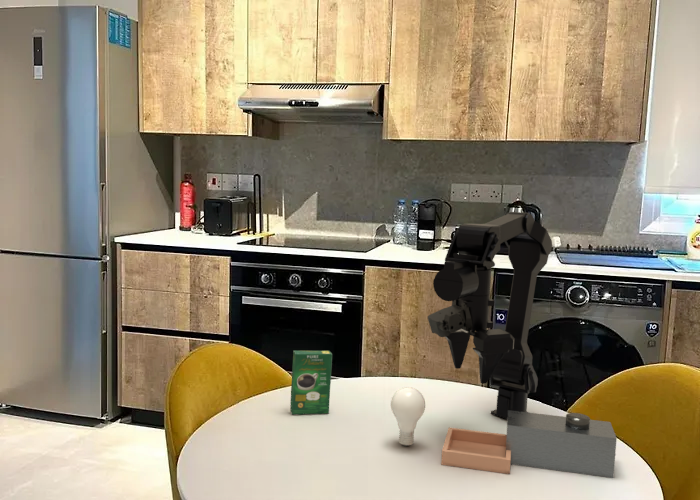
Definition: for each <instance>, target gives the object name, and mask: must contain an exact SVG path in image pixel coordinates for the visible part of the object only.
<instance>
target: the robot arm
mask: <svg viewBox="0 0 700 500" xmlns="http://www.w3.org/2000/svg"><path fill="white" fill-rule="evenodd" d="M503 243H505V245H506V247H507V248H508V255H507V256H508V259H509V261H510V262H509V263H510V264H511V267H512V269H513V277H512V283H511V289H510V296H509V300H508V301H509V302H508V309H507V315H506V320H505V321H506V322H505V328H504V330H503V329H500V328H494V321H491V320H490V307H492V306H493V307H494V306H495V300H494V299H492V298H491V283H492V268H494V267H495V265H496V263H495V261H494V259H495V256H496V254H498V252H500V251H501V244H503ZM552 249H553V241H552V238H551V237H550V234H549V232H548V229H547V228H545V227H544V226H542V224H540V223H539V222H538V221H536V220H535V219H534V216H533V215H532V214H531V213H529V212H521V211H510V212H506V213H505V214H504V215H502V216H500V217H497V218H495V219H492V220H490V221H488V222H485V223H461V224H460V225H459V226H458V227H457V229H456V230H455V232H454V235H453V237H452V239H451V242H450V245H449V247H448V250H447V252H446V255H445V258H444V264H443V267H444V268H441V269H440V270H438V272H437V273H436V274H435V276H434V279H433V282H432V283H433V284H432V285H433V291H434V293H435V294H436V296H437V297H438V298H439V299H441V300H444V301H446V302H451V305H450V306H447V307H443V308H441V309H439V310H437V311H435V312H433V313H430V314H429V315H428V316H427V320H428V324H429V328H430V330H431V333H432V334H436V335H437V336H438V337H440V338H445V339H446V341H447V344H448V346H449V351H450V354H451V358H452V362H453V365H454V369H457V370H459V369H461V368H462V365H463V363H464V359H465V355H466V352H467V349H468V345H469V342H470V340H471V337H472V343H473V344H474V345H473V346H474V347H472V350H473V351H474V353H476V354H477V355H478V369H479V370H478V371H479V373H478V374H479V382H480V384H487V383H488V381H490V386H494V387H495V386H496V387H498V388H497V395H496V396H497V397H496V408H495V409H493V410H490V414H491V415H493V416H496V417H500V418H502V419H504V420H507V419H508V410H511V411H520V412H528V413H530V412H529V411H527V408H528V395H529V394H530V393H531V394H533V393H536V392H537V387H538V381H539V378H538V375H537V373H536V371H535V369H534V366H533V354H532V352H531V350H530V347H529V345H528V336H529V331H530V330H529V329H530V323H531V317H532V312H533V304H534V296H535V290H536V284H537V277H538V274H539V273H540V272H541V271H542V270H543V269H544V267H545V266H546V265H547V264H548V259H549V255H550V254H551V252H552ZM493 328H494V329H493Z"/></svg>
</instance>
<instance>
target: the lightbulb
mask: <svg viewBox="0 0 700 500" xmlns="http://www.w3.org/2000/svg"><path fill="white" fill-rule="evenodd" d="M390 408H391V411H392V414H393V416H394V417H395V419H396V421H397V427H398V429H399V439H398V442H399V444H400V445H402V446H404V447H409V446H411V445H413V444H414V440H415V439H414V438H415V437H414V435H415V430H416V428H417V424H418V422H419V420H420V419H421V418H422V416H423V415H424V413H425V410H426V401H425V397H424V395H423V393H421V391H420V390H418V389H417V388H414V387H410V386H404V387H401V388H399V389H398V390H396V391H395V392H394V394H393V395H392V397H391V400H390Z"/></svg>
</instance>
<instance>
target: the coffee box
mask: <svg viewBox="0 0 700 500" xmlns="http://www.w3.org/2000/svg"><path fill="white" fill-rule="evenodd" d="M292 351H293V352H292V353H293V354H292V355H293V356H292V367H291V369H292V371H291V387H290V388H291V389H290V404H289V405H290V414H291V415H294V416H295V415H323V414H324V415H325V414H329V413H330V399H331V398H330V396H331V382H332V380H331V379H332V368H333V367H332V365H333V363H332V362H333V353H332V352H331V351H330V350H292Z"/></svg>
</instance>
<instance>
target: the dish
mask: <svg viewBox="0 0 700 500" xmlns="http://www.w3.org/2000/svg"><path fill="white" fill-rule="evenodd" d="M506 434H507V433H506ZM506 434H504V433H495V432H490V431H489V432H488V431H487V432H486V431H482V430H481V431H480V430H474V429H473V430H472V429H463V428H458V427H450V426H449V427H448V429H447V432H446V435H445V440H444V444H443V446H442V449H441V463H440V464H441V466H447V467H456V468H464V469H470V470H476V471H477V470H478V471H484V472H491V473H497V474H500V473H501V474H505V475H506V474H507V475H510V473H511V464H510V461H511V450H506ZM505 451H506V457H505Z"/></svg>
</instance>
